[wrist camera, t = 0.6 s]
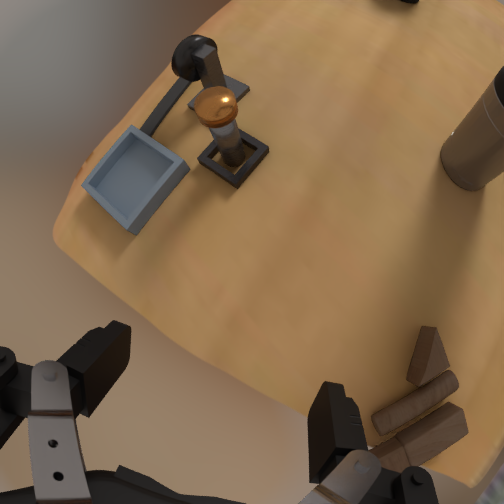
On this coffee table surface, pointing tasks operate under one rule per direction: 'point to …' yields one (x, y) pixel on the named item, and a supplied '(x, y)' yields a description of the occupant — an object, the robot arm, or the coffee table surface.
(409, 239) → the coffee table surface
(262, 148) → the frame
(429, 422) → the wooden block set
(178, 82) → the strip
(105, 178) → the tray
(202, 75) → the pulley stand
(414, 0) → the pen holder
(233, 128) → the pin
